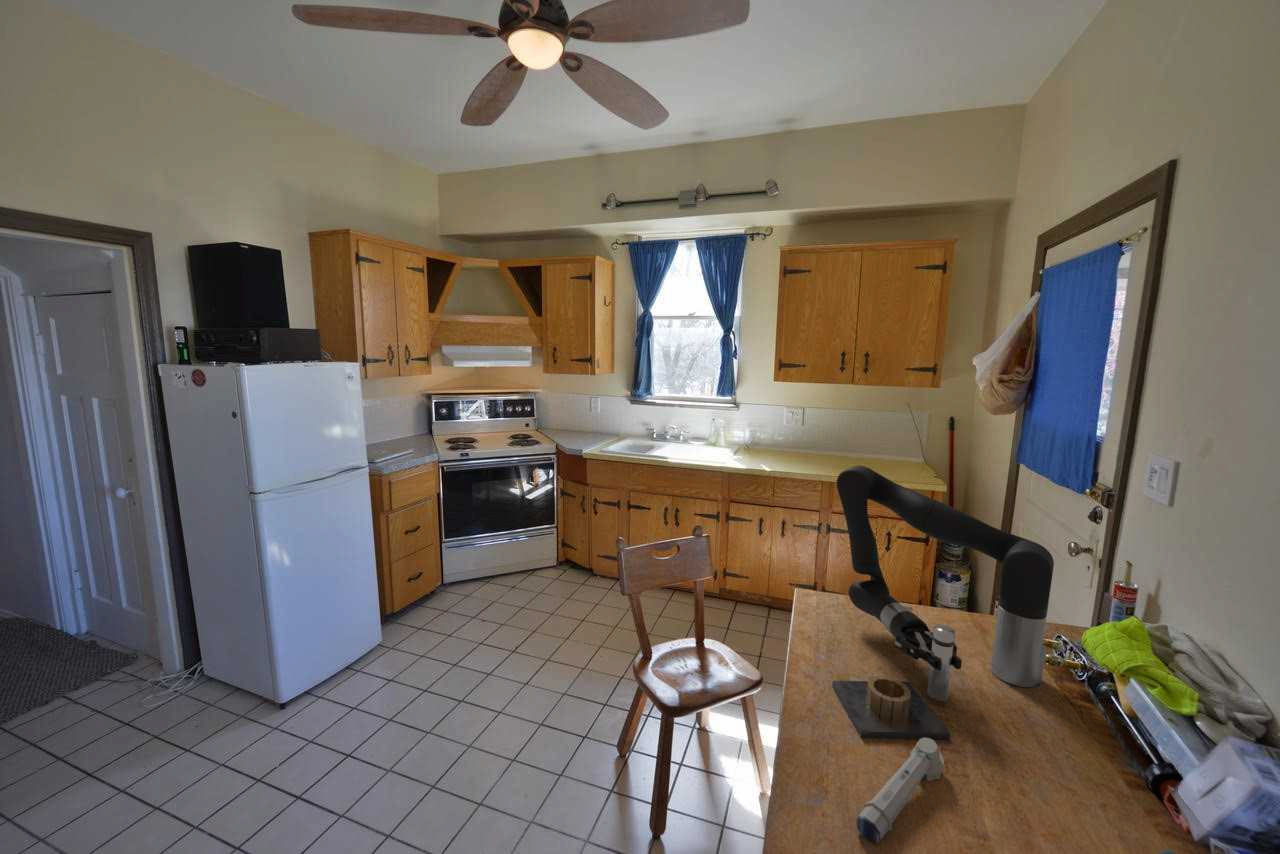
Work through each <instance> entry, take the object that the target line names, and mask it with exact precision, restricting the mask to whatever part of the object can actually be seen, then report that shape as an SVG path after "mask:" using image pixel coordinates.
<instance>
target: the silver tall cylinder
mask: <svg viewBox="0 0 1280 854" xmlns="http://www.w3.org/2000/svg"><path fill="white" fill-rule="evenodd" d="M932 631H933V632H932V633H933V637H932V650H931V652H932V653H933V654H934V655H935V656H936V657H937V658H938V659H939V660H940V661H941V662H942V666H941V670H936V669H935V668H933V667H932V666H931V665H930V664H929V672H928V673H929V674H928V681H927V682H928V683H927V695H928V696H929V697H930V698H932V699H934V700H935V701H939V702H946V701H948V699H949V691H950V690H949V689H950V681H951V680H950V679H951V673H952V672H951V671H952V665H951V663H952V653H953V645H954V643H955V630H954V629H953V628H952V627H950V626H948V625H945V624H935V625H934V626H933V630H932Z"/></svg>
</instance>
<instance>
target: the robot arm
mask: <svg viewBox="0 0 1280 854" xmlns="http://www.w3.org/2000/svg"><path fill="white" fill-rule="evenodd" d="M836 489H837V493H838V495H839V499H840V502H841V505H842V509H843V515H844V517H845V522H846V526H847V532H848V539H849V546H850V556H851V566H852V569H853V572H855V573H856V574H860V575H865V576H869V578H870V579H869V580H867V579H866V580H861V581H856V582H853V583H851V584H850V586H849V588H848V596H849V597H848V598H849V599H850V601H851V602H852V604H853V605H854V606H855V607H856V609H858V610H860V611H862V612H864V613H865V614H867V615H870V616H872V617H874V618H876V619H877V620H878V621H879V622H880V623H881V624H882V625H883V626H884V627H885V630H887V631H888V632H889V633H890V634H891V635H892V636H893V637H894V638H895V640H894V648H896V649H897V650H899V651H900V652H902V653H904V655H907V656H908V657H910V658H911V659H913V660H915V661H918V660H919V659H921V660H922V661H924V662H927V664H929V666H930V665H931V666H932V667H933V668H935V669H936V670H941V666H942V662H941V661H940V660H939V659H938V658H937V657H936V656H935V655H934V654H933V653H932V652H931V650H932V637H933V632H932V631H931V630H930V629H929V627H928V625H927V624H926V622H925V621H923V620H922V618H920V617H919V616H917V615H916V614H915V613H914V612H913V611H912V610H911V609H909V608H907V607H906V606H904V605H902V604H901V603H900V602H899V601H898V600H897V599H895V598H894V597H893V596H891V594H890V589H889V587H888V584H887V582H886V579H885V577H884V574H883V572H882V568H881V566H880V561H879V559H880V558H879V550H878V545H877V541H876V537H875V534H874V531H873V528H872V525H871V523H870V518H869V513H868V512H869V511H868V501H869V500H870V501H872V502H875V503H877V504H880V505H882V506H884V507H886V508H887V509H889V510H890V511H892V512H893V513H895V514H896V515H897V516H898V517H899V518H901V520H902V521H904V522H906V523H907V524H908V525H909V526H911V527H912V528H913V529H915V530H917V531H919V532H921V533H923V534H925V535H927V536H929V537H932V538H933V539H936V540H938V541H940V542H943V543H946V544H949V545H953V546H958V547H962V548H966V549H971V550H974V551H976V552H979V553H981V554H984V555H986V556H988V557H990V558H992V559H994V560H996V561H998V562H1000V563H1001V564H1002V566H1001V572H1000V573H1001V575H1000V582H999V583H1000V584H999V591H998V593H999V594H998V596H999V597H998V607H997V615H996V623H995V630H994V638H993V645H992V652H991V653H992V654H991V661H990V672H991V673H992V674H993V675H994V676H995V677H996V678H998V679H1000V680H1001V681H1003V682H1005V683H1008V684H1009V685H1013V686H1017V687H1021V688H1033V687H1035V686H1037V684H1042V681H1043V674H1044V666H1045V658H1046V653H1047V646H1046V645H1045V644H1044V643H1043V642H1044V636H1045V631H1046V630H1045V628H1046V622H1047V615H1048V608H1049V601H1050V595H1051V587H1052V581H1053V573H1054V566H1055V562H1054V558H1053V555H1052V554H1051V552H1050V551H1049V549H1047V548H1046V547H1044V545H1041V544H1040V543H1038V542H1036V541H1033V540H1030V539H1027V538H1024V537H1023V536H1018V535H1016V534H1012V533H1010V532H1007V531H1004V530H1001V529H999V528H996V527H994V526H991V525H989V524H987V523H985V522H983V521H982V520H979V519H977V518H976V517H973V516H971V515H969V514H968V513H965V512H963V511H961V510H958V509H957V508H954V507H952V506H951V505H948V504H946V503H944V502H942V501H939V500H937V499H935V498H932V497H930V496H927V495H925V494H923V493H920V492H918V491H916V490H913V489H911V488H908V487H905V486H904V485H903V486H902V485H900V484H898V483H896V482H894V481H892V480H890V479H889V478H887V477H885V476H884V475H882V474H880V473H878V472H877V471H874V470H873V469H871V467H867V466H865V465H853V466H850V467H848V468H845V469H844V470H842V471H841V472H840V473H839V474H838V476H837V478H836ZM911 650H912V651H911ZM957 652H958V646H957V644H956V643H955V642H954V645H953V653H952V663H951V667H952V666H953V668H954V669H956V670H961V669H962V664H963V663H962V662H963V661H962V659H961V658H960V657H959V656H958V655H957V654H958V653H957Z"/></svg>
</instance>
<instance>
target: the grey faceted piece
mask: <svg viewBox="0 0 1280 854" xmlns="http://www.w3.org/2000/svg"><path fill="white" fill-rule="evenodd" d="M944 761H945V760H944V756H943V755H942V754H941V752H940V750H939V746H938V743H936V741H935V739H930V738H921V739H918V741H917V742H916V743H915V747H913V748H912V750H910V755H909V758H907V760H906V761H905V762H904V763H903V764H902V765H901V766H900V768H898V770H896V772H895V773H894V775H892V777H891V778H890V779H889V780H888V781H887V782H886V783H885V784H884V786H883V787H882V788H881V789H880V790H879V791H878V792H877V793H876V794H875V796H874V797H873V798H872V799H870V800H869V801H866V802H865V803H864V809H862V811H861V813H860V814H859V815H858V816H857V817H856V819H855V824H856V825H855V826H856V829H857V830H858V832H859V833H860V834H861V836H863V837H864V838H865V839H866V840H868V841H869V842H871V843H872V844H880V841H881V840H882V839H883V837H884V836H885V834H886V833H887V832H891V831H892V828H893V823H894V822H895V820H896V818H897V817H898V816H899V814H900V813H901V811H902V809H903V808H904V807H905V805H906V804H907V802H908V800H909V798H910V797H911V796H912V795H913V793H914V792H915V790H916V788H917V787H918V785H919V783H920V782H921V780H923V781H926V782H927V781H928V782H933V781H934V780H937V781H938V780H939V779H940V777H941V776H942V771H943V769H944V768H945V763H944Z"/></svg>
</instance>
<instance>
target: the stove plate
mask: <svg viewBox="0 0 1280 854" xmlns="http://www.w3.org/2000/svg"><path fill="white" fill-rule="evenodd" d="M831 687H832V689H833V691H834V692H835V695H836V696H837V697H838V699H839V701H840V703H841V705H842V707H843V708H844V710H845V712H846V714H847V715H848V717H849V719H850V721H851V722H852V725H853V726H854V728H855V730H856V732H857V733H858V735H859V737H860V738H861V739H897V740H898V739H901V740H903V739H905V740H909V739H910V740H912V739H913V740H920V739H921V738H930V739H932V740H950V738H951V732H950V730H949V729H948V727H946V725H945V724H944V722H943V721H942V720H941V719H940V718H939V717H938V716H937V714H936V713H935V711H934V710H933V709H932V708H931V706H930V705H929V704H928V703H927V702H926V700H925V699H924V698H923V696H922V695H921V694H920V693H919V691H918V690H917V689H916V688H915V687H914V686H913V684H912V682H910V681H900V680H898V679H896V678H893V677H889V676H887V675H886V676H885V675H874V676H871V677H870V678H868V679H867V680H864V681H863V680H832V684H831Z"/></svg>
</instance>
